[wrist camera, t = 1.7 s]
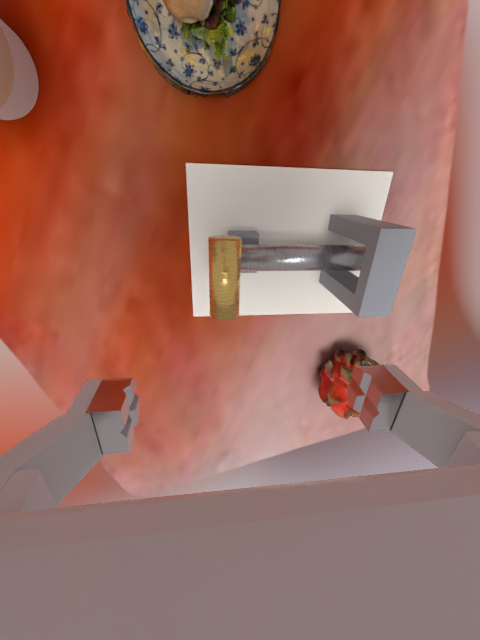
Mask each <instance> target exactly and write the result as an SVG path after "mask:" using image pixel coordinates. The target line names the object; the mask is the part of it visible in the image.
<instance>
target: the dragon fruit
mask: <svg viewBox="0 0 480 640" xmlns="http://www.w3.org/2000/svg"><path fill="white" fill-rule="evenodd" d="M344 352H346V350H345V348H338V350H337V351H336V352H335V356H334V358H333V362H332V360H328V361H327V362H326V363H324V367H323V368H322V369H321V370H320V368H319V370H320V371H319V370H318V374H319V375H320V377H321V379H322V380H321V383H320V385H319V389H318V391H319V396H320V398H321V400H322V401H323V402H325V403H326V404H327V406H331V410H333V411H334V412H335V414H337V415H338V416H340V417H341V418H345V419H348V418H349V417H350V416H353V417H359V416H360V413H359V412H357V411H356V410H354V409H353V408H352V406H351V405H350V403H349V400H348V394H347V390H348V386H349V384H350V383H351V382H352V381H353V380H354V379H353V377H352V376H351V375H352V371H353V369H354V368H355V367H360V366H378V365H379V364H378V363H377V362H376V361H374V360H371V359H370V358H369V357H367V356H366V354H365V351H363V350H361V349H359V350H356V351H352V352H351V353H350V352H349V353H347V354H345V353H344Z"/></svg>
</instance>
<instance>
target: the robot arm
mask: <svg viewBox="0 0 480 640" xmlns="http://www.w3.org/2000/svg"><path fill="white" fill-rule="evenodd" d="M351 376H352V377H353V379H354V380H353V381H352V382H351V383H350V384H349V386H348V390H347V394H348V400H349V403H350V405H351V406H352V408H353V409H354V410H356V411H357V412H359V413H360V416H359V418H360V420H361V421H362V423H363V424H364V426H365V427H366V429H367V430H368V432H382V431H391V433H392V434H394V435H395V436H397V437H398V438H399V439H401V440H402V441H403V442H405V443H406V444H407V445H409V446H410V447H411V448H413V449H414V450H416V451H417V452H418V453H419V454H421V455H422V456H424V457H425V458H426V459H428V460H429V461H430V462H432V463H433V464H434V465H436V466H437V467H438V468H435V469H425V470H415V471H406V472H396V473H387V474H377V475H368V476H357V477H348V478H339V479H329V480H319V481H309V482H300V483H290V484H280V485H271V486H261V487H251V488H241V489H232V490H223V491H213V492H203V493H193V494H184V495H174V496H165V497H155V498H145V499H135V500H126V501H116V502H107V503H98V504H87V505H78V506H69V507H58V508H57V506H58V504H59V503H60V502H61V501H62V500H63V499H64V498H65V497H66V496H67V495H68V494H69V492H70V491H71V490H72V489H73V488H74V487H75V486H76V485H77V484H78V483H79V481H81V479H82V478H83V477H84V476H85V475H86V474H87V473H88V472H89V471H90V470H91V469H92V467H93V466H94V465H95V464H96V463H97V462H98V461H99V460H100V459H101V458H102V455H107V454H116V453H125V452H130V450H131V446H132V443H133V439H134V435H135V434H134V429H133V428H134V427H135V426H136V425H137V424H138V420H139V414H140V401H139V397H138V396H137V395H136V394H135V392H136V389H137V384H136V380H135V379H134V378H111V379H89V380H87V381H86V382H85V383H84V385H83V387H82V388H81V390H80V392H79V393H78V395H77V397H76V399H75V400H74V402H73V404H72V405H71V407H70V409H69V411H68V412H67V414H66V415H60V416H59V417H57V418H56V419H55V420H53V421H51V422H50V423H48V424H47V425H45V426H44V427H42V428H41V429H39V430H38V431H37V432H35V433H33V434H32V435H30V436H29V437H27V438H26V439H24V440H23V441H22V442H20V443H19V444H17V445H16V446H14V447H13V448H11V449H10V450H8V451H7V452H5V453H4V454H2V455H1V456H0V640H480V415H479V414H476V413H474V412H472V411H470V410H467V409H465V408H463V407H461V406H459V405H457V404H454V403H452V402H450V401H448V400H445V399H443V398H441V397H439V396H437V395H435V394H432V393H430V392H428V391H423V390H422V389H421V388H420V387H418V386H417V385H416V384H415V383H414V382H413V381H412V380H411V379H410V378H409V377H408V376H407V375H406V374H405V373H404V372H403V371H402V370H400V369H399V368H398V367H397V366H396V365H393V364H386V365H378V366H360V367H355V368H354V369H353V371H352V375H351Z"/></svg>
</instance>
